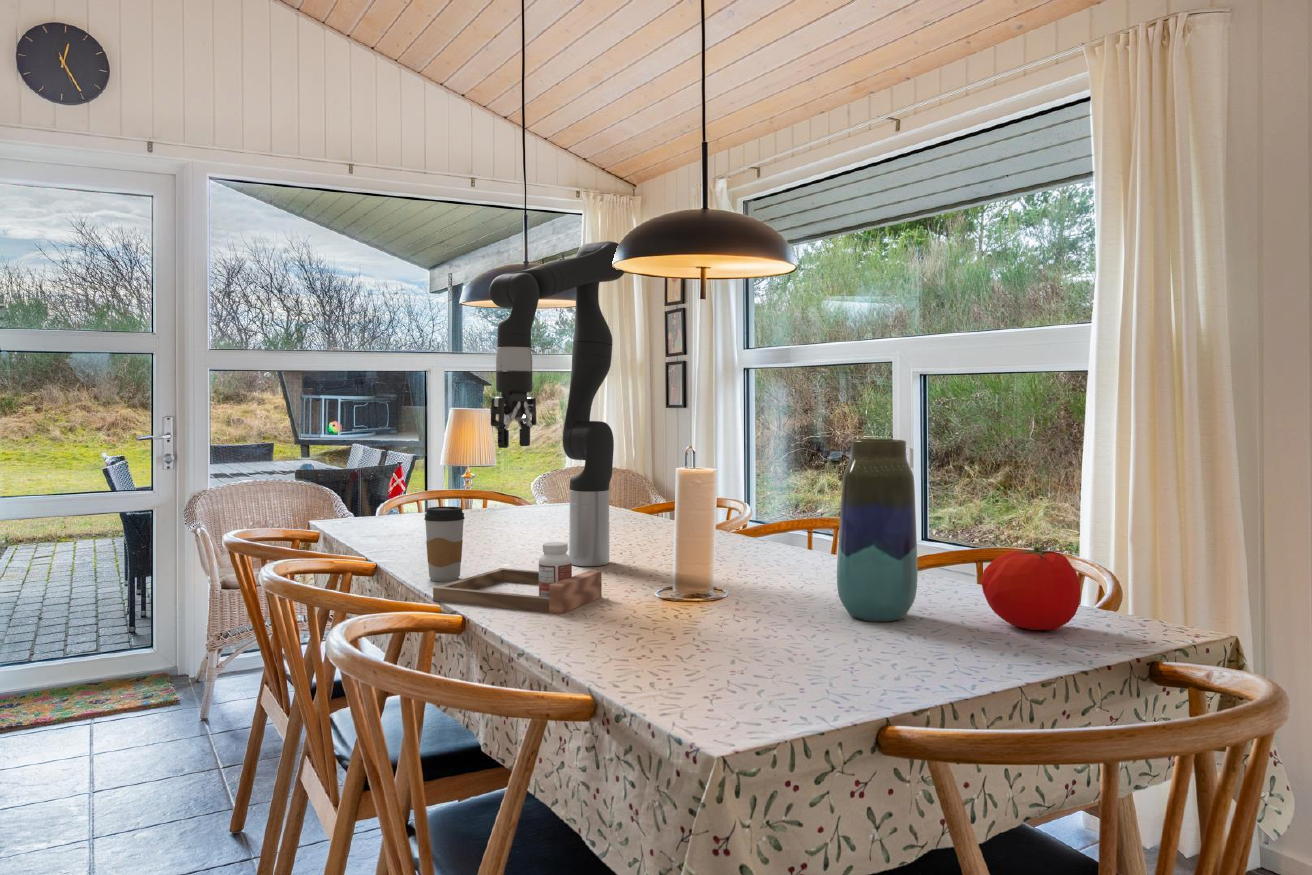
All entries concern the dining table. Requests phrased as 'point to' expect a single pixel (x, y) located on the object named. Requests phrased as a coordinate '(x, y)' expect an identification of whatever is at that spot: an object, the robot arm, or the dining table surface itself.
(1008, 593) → the tomato
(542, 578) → the pill bottle
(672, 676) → the dining table surface
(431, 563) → the coffee cup
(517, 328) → the robot arm
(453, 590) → the wooden tray frame
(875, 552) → the vase
